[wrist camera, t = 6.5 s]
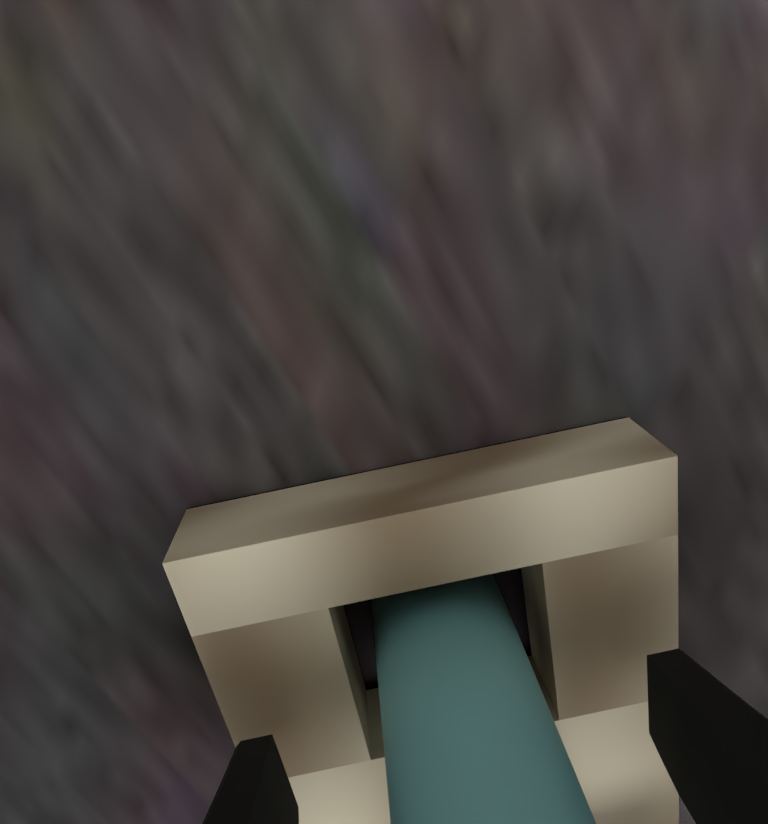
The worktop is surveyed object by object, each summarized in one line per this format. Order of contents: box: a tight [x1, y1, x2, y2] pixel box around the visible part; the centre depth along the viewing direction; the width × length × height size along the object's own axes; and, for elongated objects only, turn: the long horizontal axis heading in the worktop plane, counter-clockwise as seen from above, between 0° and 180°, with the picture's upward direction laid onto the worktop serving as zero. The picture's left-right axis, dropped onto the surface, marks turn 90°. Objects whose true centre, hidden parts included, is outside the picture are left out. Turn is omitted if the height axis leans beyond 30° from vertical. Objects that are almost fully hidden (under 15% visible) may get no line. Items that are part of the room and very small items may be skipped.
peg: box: [371, 574, 596, 824], centre depth 11 cm, size 3×3×8 cm
